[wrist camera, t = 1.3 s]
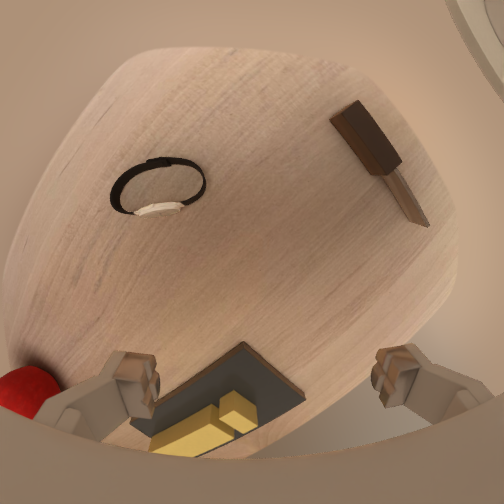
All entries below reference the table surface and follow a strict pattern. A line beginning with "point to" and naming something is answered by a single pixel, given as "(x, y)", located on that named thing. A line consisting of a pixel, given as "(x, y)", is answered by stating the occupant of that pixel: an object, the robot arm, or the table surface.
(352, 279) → the table surface
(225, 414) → the butter pat
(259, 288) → the table surface
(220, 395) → the butter dish
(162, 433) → the butter block
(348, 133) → the dark brown boxy part
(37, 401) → the apple
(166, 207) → the watch
